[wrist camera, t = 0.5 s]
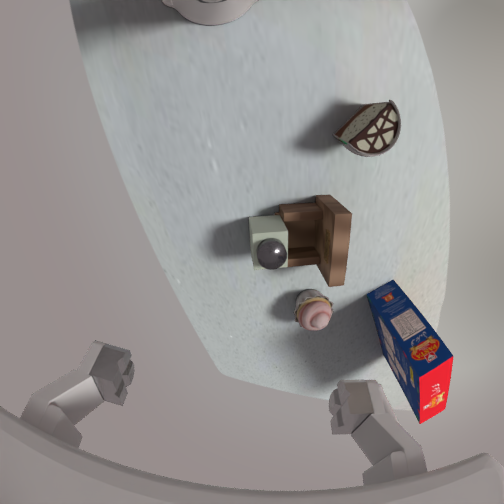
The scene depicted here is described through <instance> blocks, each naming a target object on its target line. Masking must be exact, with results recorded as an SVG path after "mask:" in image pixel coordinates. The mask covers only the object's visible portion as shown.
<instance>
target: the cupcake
mask: <svg viewBox="0 0 504 504" xmlns="http://www.w3.org/2000/svg"><path fill="white" fill-rule="evenodd" d="M332 306H333V303H332V302H331V301H329V298H328V297H326V296H323V295H322V294H321V293H320V292H319V291H317V290H315V289H308V290H305V291H303V292H302V293H301V294H300V295H299V296H298V297H297V300H296V309H295V311H294V315H295V322H299V323H300V326H301V327H303V328H304V329H307V330H314V331H316V330H321V329H323V328H325V327H326V326H327V325H328V323H329V320H330V318H331V314H332V313H333V312H334V311H333V309H332Z"/></svg>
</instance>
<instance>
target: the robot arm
mask: <svg viewBox="0 0 504 504" xmlns="http://www.w3.org/2000/svg"><path fill="white" fill-rule="evenodd" d="M256 1H259V0H162V2H163V4H165V5H167V6H169V7H172V8H175V9H176V10H178V11H179V13H180V14H181V15H183V16H184V17H185V18H186V19H188V20H190V21H192V22H195V23H198V24H203V25H219V24H224V23H228V22H231V21H233V20H236V19H237V18H239V17H241V16H242V15H243V14H245V13H246V12H247V11H248V10H249V8H250V7H251V6H252V5H253V4H254V3H255V2H256ZM130 358H131V352H130V350H127V349H123V348H120V347H116V346H113V345H109V344H106V343H103V342H99V341H96V340H95V341H94V342H93V343H92V344H91V346H90V347H89V349H88V351H87V353H86V355H85V356H84V358H83V360H82V362H81V364H80V366H79V368H78V369H77V370H72V371H71V372H69V373H67V374H65V375H64V376H62V377H61V378H59V379H57V380H55V381H54V382H52V383H50V384H48V385H47V386H45V387H43V388H41V389H40V390H38V391H36V392H35V393H33V394H32V396H31V398H30V399H29V401H28V404H27V405H26V407H25V409H24V411H23V413H22V415H21V417H20V418H18V417H17V416H15V415H13V414H12V413H10V412H8V411H7V410H5V409H4V408H2V407H1V406H0V504H504V468H503V466H502V465H501V464H500V463H499V462H498V461H497V460H495V459H494V458H493V457H492V456H490V455H489V454H488V453H481V454H478V455H476V456H473V457H471V458H468V459H465V460H462V461H460V462H457V463H454V464H451V465H448V466H445V467H442V468H439V469H436V470H432V471H429V472H427V468H426V463H425V459H424V455H423V451H422V447H421V445H420V444H419V443H418V442H417V441H416V440H415V439H414V438H413V437H412V436H411V435H410V434H409V433H408V432H407V431H406V430H405V429H404V428H403V427H402V426H401V425H400V424H399V423H398V422H397V421H396V420H395V419H394V418H393V417H392V416H391V415H390V414H389V413H385V409H384V405H383V401H382V397H381V393H380V390H379V386H378V382H377V381H376V380H341V381H339V383H338V384H337V386H338V388H337V389H335V390H334V391H333V392H332V394H331V395H330V399H329V411H330V412H331V414H332V415H333V418H332V419H331V428H332V434H351V436H352V437H353V439H354V440H355V442H356V443H357V444H358V446H359V447H360V448H361V450H362V451H363V453H364V454H365V455H366V457H367V458H368V459H369V461H370V462H371V463H372V465H373V466H372V467H371V468H369V469H368V470H366V471H365V472H364V473H363V483H364V486H357V487H349V488H339V489H328V490H311V491H264V490H248V489H236V488H227V487H219V486H211V485H205V484H198V483H192V482H187V481H182V480H177V479H172V478H168V477H164V476H160V475H156V474H152V473H148V472H145V471H141V470H137V469H134V468H131V467H128V466H124V465H121V464H118V463H115V462H112V461H110V460H107V459H104V458H101V457H99V456H96V455H93V454H91V453H88V452H86V451H84V450H81V449H79V445H80V442H81V439H82V435H81V433H80V432H79V431H78V430H77V429H76V428H75V426H74V425H75V424H77V423H78V422H79V421H80V420H82V419H83V418H84V417H85V416H87V415H88V414H89V413H90V412H91V411H93V410H94V409H95V408H97V406H99V405H100V404H101V403H103V402H104V401H108V402H111V403H114V404H118V405H121V406H123V404H124V401H125V399H126V396H127V390H126V387H127V386H129V385H130V384H131V382H132V379H133V375H134V364H133V362H132V361H131V360H130Z"/></svg>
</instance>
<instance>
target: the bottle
mask: <svg viewBox="0 0 504 504" xmlns="http://www.w3.org/2000/svg"><path fill="white" fill-rule="evenodd" d="M378 386H379V390H380V393H381V397H382V401H383V405H384V409H385V413H389V414H390V415H391V416H392V417H393V418H394V419H395V420H396V421H398V419H397V417H396V415H395V413H394V411H393V409H392V407H391V405H390V403H389V401H388V399H387V397H386V395H385V393H384V391H383V387H382V385H381V384H378Z"/></svg>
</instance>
